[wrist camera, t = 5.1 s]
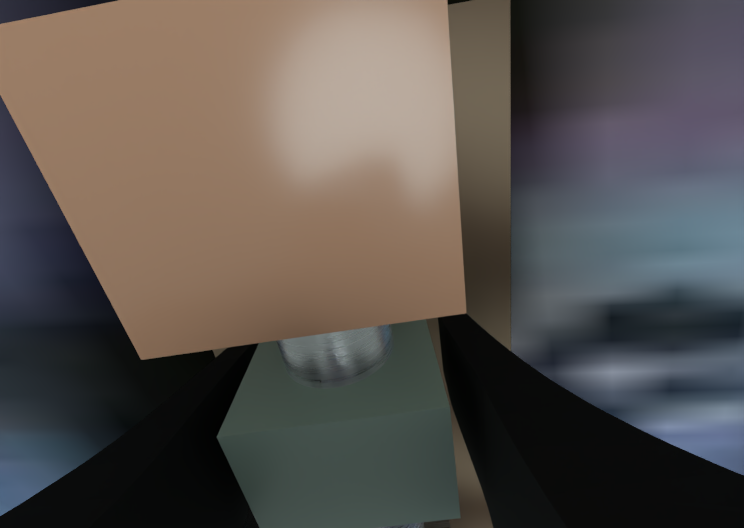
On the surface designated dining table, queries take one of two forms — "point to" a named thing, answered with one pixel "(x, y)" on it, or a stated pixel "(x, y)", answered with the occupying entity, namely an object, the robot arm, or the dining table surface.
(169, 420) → the robot arm
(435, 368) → the tube
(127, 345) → the dining table surface
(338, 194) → the tube stand
